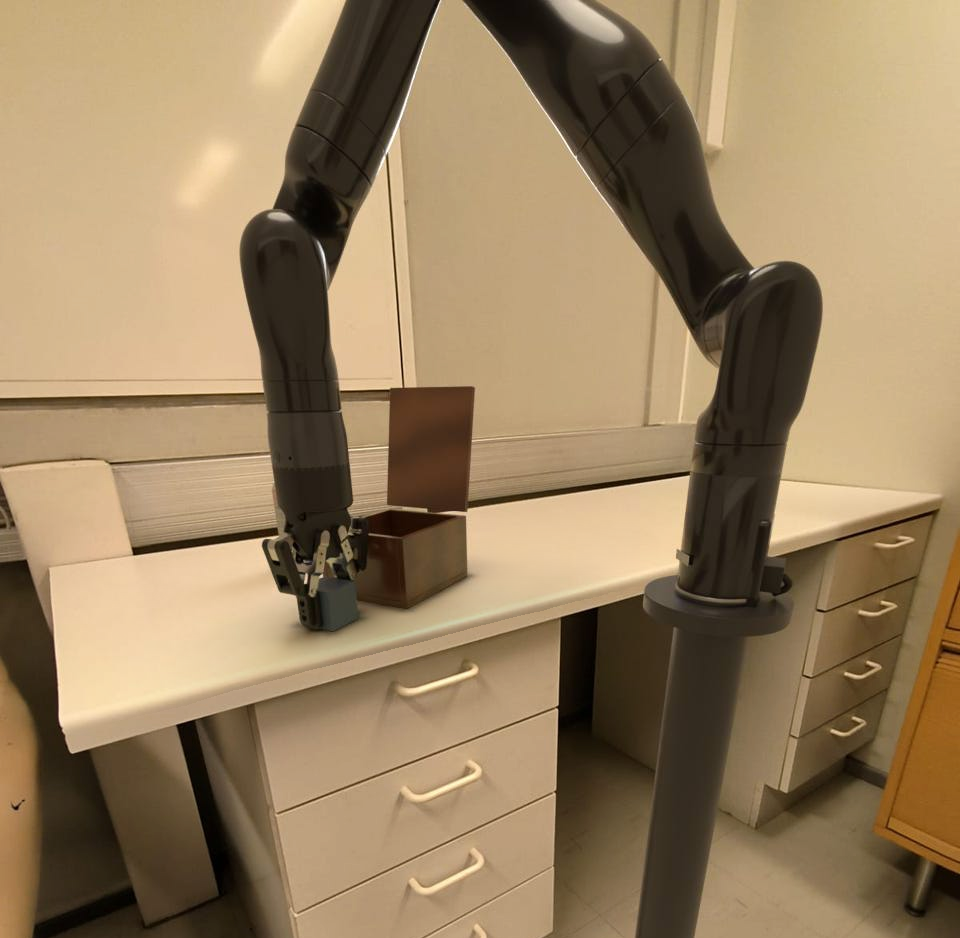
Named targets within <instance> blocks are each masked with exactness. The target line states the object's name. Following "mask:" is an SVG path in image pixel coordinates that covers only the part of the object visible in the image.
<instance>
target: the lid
mask: <svg viewBox="0 0 960 938" xmlns="http://www.w3.org/2000/svg"><path fill="white" fill-rule="evenodd" d="M475 393H476V387H475V386H472V385H465V386H463V385H462V386H460V385H459V386H417V387H416V386H415V387H414V386H412V387H408V386H406V387H390V388H389V409H388V410H389V414H388V445H387V447H388V453H387V483H386V484H387V486H386V506H391V507H392V506H393V507H401V508H402V507H413V508H424V509H427V510H435V511H436V510H437V511H446V512H447V511H448V512H457V513H459V512H460V513H468V509H469V495H470V494H469V491H470V477H471V460H472V459H471V458H472V445H473V444H472V443H473V426H474V412H475V411H474V409H475V395H476V394H475Z"/></svg>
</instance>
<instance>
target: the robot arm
mask: <svg viewBox="0 0 960 938" xmlns="http://www.w3.org/2000/svg"><path fill="white" fill-rule="evenodd" d="M441 1H442V0H345V1H344V4H343V6H342V9H341V11H340V14H339V16H338V20H337V23H336V25H335V28H334V29H333V32H332V34H331V38H330V40H329V42H328V45H327V48H326V50H325V52H324V55H323V57H322V59H321V62H320V64H319V67H318V70H317V72H316V74H315V76H314V79H313V81H312V83H311V86H310V88H309V90H308V93H307V95H306V98H305V100H304V103H303V105H302V106H301V110H300V112H299V115H298V116H297V119H296V122H295V124H294V127H293V129H292V131H291V134H290V137H289V140H288V142H287V146H286V150H285V155H284V174H283V179H282V183H281V186H280V188H279V191H278V193H277V196H276V199H275V201H274V204H273V205H272V208H270V209H265V210H262V211H260V212H258V213H257V214H255V215H254V216H253V217H252V218H250V220H249V221H248V222H247V224H246V225H245V227H244V228H243V230H242V233H241V237H240V241H239V251H238V253H239V254H238V256H239V265H240V266H239V267H240V273H241V279H242V283H243V289H244V294H245V300H246V303H247V307H248V308H247V309H248V312H249V317H250V320H251V324H252V329H253V332H254V336H255V340H256V343H257V347H258V353H259V361H260V376H261V380H262V390H263V395H264V396H263V397H264V401H265V409H266V416H267V417H266V419H267V443H268V449H269V456H270V463H271V468H272V475H273V483H275V490H276V496H277V503H278V507H279V508H280V509H281V510H282V512H283V513H284V515H285V526H284V533H283V534H282V535H280V536H279V535H278V536H277V537H276V538H274V539H272V538H265V539H263V540H262V542H261V548H262V552H263V554H264V556H265V558H266V559H265V560H266V562H267V565H268V567H269V569H270V572H271V574H272V577H273V580H274V583H275V584H276V587H277V590H278V592H279V593H280V594H285V595H291V596H295V598H296V603H297V604H296V605H297V609H298V617H299V622H300V623H301V625H302V624H303V625H302V626H303V627H304V628H306V629H310V630H315V631H316V630H320V629H319V628H321V627H322V625H323V624H322V616H321V608H320V601H319V595H317V592H318V584H319V578H320V576H323V572H324V565H325V561H326V562H328V563H329V564H330V567H331V569H332V572H333V574H334V576H335V577H336V578H337V579H343V580H349V581H354V580H355V579H356V578H357V573H358V572H359V571H360V570H361V571H364V570H365V569H366V566H367V551H368V535H369V520H368V518H363V517H361V516H355V515H353V516H351V514H350V512H349V510H348V508H350V507H352V506H353V504H354V495H353V484H352V474H351V462H350V454H349V453H350V452H349V444H348V443H349V442H348V436H347V430H346V425H345V421H344V417H343V411H342V410H343V409H342V408H343V407H342V399H341V388H340V381H339V380H340V379H339V371H338V366H337V360H336V358H335V354H334V350H333V347H332V336H331V335H332V334H331V322H330V321H331V320H330V308H329V307H330V306H329V290H330V287H331V285H332V283H333V280H334V278H335V275H336V272H337V270H338V267H339V265H340V262H341V260H342V256H343V254H344V251H345V248H346V245H347V243H348V240H349V237H350V234H351V230H352V228H353V224H354V222H355V220H356V218H357V215H358V214H359V212H360V209H361V208H362V206H363V204H364V203H365V201H366V200H367V198H368V195H370V194H369V193H370V191H371V188H373V185H374V183H375V181H376V178H377V176H378V174H379V172H380V169H381V167H382V165H383V163H384V161H385V159H386V156H387V154H388V152H389V150H390V147H391V146H392V143H393V141H394V138H395V136H396V133H397V130H398V127H399V125H400V122H401V119H402V117H403V114H404V111H405V108H406V105H407V101H408V98H409V96H410V92H411V89H412V85H413V83H414V79H415V76H416V73H417V70H418V67H419V63H420V61H421V57H422V54H423V50H424V49H425V46H426V45H425V44H426V42H427V39H428V36H429V34H430V30H431V28H432V24H433V21H434V19H435V17H436V14H437V11H438V9H439V7H440V4H441ZM461 1H462V2H463V4H464V5H465V6H466V7H467V8H468V9H469V11H470V12H471V14H473V15H474V17H475V18H476V19H477V20H478V21H479V22H480V24H481V25H482V26H483V27H484V28H485V30H486V31H487V32H488V33H489V34H490V36H491V37H492V38H493V39H494V40H495V42H496V43H497V44H498V46H499V47H500V48H501V49H502V51H503V52H504V53H505V55H506V56H507V57H508V58H509V60H510V62H511V64H512V65H513V66H514V68H515V69H516V71H517V72H518V74H519V75H520V77H521V78H522V80H523V81H524V83H525V85H526V87H527V88H528V89H529V91H530V92H531V94H532V96H533V97H534V98H535V100H536V101H537V103H538V104H539V106H540V107H541V109H542V110H543V112H544V113H545V114H546V116H547V117H548V119H549V120H550V122H551V123H552V125H553V126H554V127H555V129H556V131H557V132H558V133H559V135H560V137H561V138H562V140H563V142H564V143H565V145H566V146H567V148H568V149H569V151H570V153H571V154H572V156H573V158H575V161H576V162H577V163H578V165H579V166H580V168H581V169H582V171H583V172H584V174H585V175H586V176H587V178H588V180H589V181H590V182H591V184H592V185H593V187H594V188H595V190H596V191H597V192H598V193H599V195H600V196H601V198H602V199H603V200H604V202H605V203H606V204H607V206H608V207H609V208H610V209H611V211H612V213H614V215H615V216H616V217H617V219H618V221H619V222H620V224H621V226H623V229H624V230H625V231H626V233H628V235H629V236H630V239H632V241H633V242H634V244H635V245H636V246H637V247H638V249H639V250H640V252H641V254H643V256H644V257H645V258H646V260H647V261H648V262H649V264H650V265H651V267H652V268H653V269H654V271H655V272H656V273H657V275H658V276H659V278H660V279H661V281H662V283H663V285H664V286H665V288H666V290H667V291H668V294H669V295H670V298H671V299H672V301H673V302H674V304H675V306H676V308H677V310H678V312H679V314H680V316H681V318H682V320H683V323H685V325H686V328H687V330H688V331H689V333H690V335H691V337H692V339H693V341H694V343H695V345H696V347H697V348H698V350H699V351H700V353H701V354H702V356H703V357H704V359H705V360H706V361H707V362H708V363H709V364H710V365H712V366H713V367H714V368H717V369H718V374H717V379H716V384H715V388H714V393H713V395H712V398H711V399H710V402H709V403H708V405H707V406H706V408H705V409H704V410H703V411H702V412H701V413H700V414H699V415H698V417H697V419H696V424H695V431H694V439H693V441H694V442H693V447H692V453H691V454H692V455H691V464H690V472H689V479H688V488H687V495H686V504H685V512H684V518H683V526H682V527H683V528H682V534H681V535H682V536H681V544H680V549H678V548H676V553H675V559H676V560H678V569H677V573H676V575H677V581H676V585H675V593H676V594H677V595H678V596H680V597H681V598H683V599H686V600H688V601H691V602H694V603H698V604H703V605H708V606H716V607H754V608H755V607H757V604H758V601H759V600H760V595H761V592H768V593H771V594H772V595H773V596H774V597H775V596H778V595H781V594H784V593H786V594H787V593H788V592H789V591H790V590H791V589H792V587H793V585H794V583H793V580H792V578H790V576H789V575H788V574H787V573H784V572H785V567H786V562H787V558H786V557H777V556H768V555H769V551H770V545H771V538H772V534H773V533H772V532H773V528H774V523H775V518H776V514H775V512H776V507H777V501H778V496H779V491H780V486H781V481H782V479H781V478H782V473H783V468H784V463H785V457H786V454H787V453H786V452H787V446H788V441H789V436H790V433H791V429H792V426H793V425H794V423H795V421H796V419H797V418H798V416H799V415H800V413H801V410H802V408H803V406H804V402H805V399H806V395H807V391H808V387H809V383H810V379H811V375H812V370H813V366H814V362H815V357H816V354H817V349H818V345H819V340H820V336H821V329H822V324H823V323H822V322H823V316H824V315H823V314H824V301H823V293H822V289H821V288H822V287H821V285H820V282H819V280H818V278H817V277H816V275H815V274H814V272H813V271H812V270H810V268H808V267H807V266H805V265H804V264H802V263H801V262H797V261H793V260H778V261H773V262H770V263H766V264H763V265H760V266H758V267H754V265H753V264H752V263H751V262H750V261H749V260H748V259H747V257H746V255H745V254H744V253H743V252H742V250H741V249H740V247H739V245H737V243H736V242H735V240H734V238H733V237H732V235H731V234H730V233H729V230H728V229H727V227H726V225H725V223H724V222H723V220H722V217H721V215H720V213H719V210H718V208H717V204H716V201H715V198H714V197H715V196H714V193H713V189H712V185H711V181H710V175H709V169H708V165H707V160H706V155H705V150H704V145H703V141H702V137H701V133H700V130H699V126H698V124H697V121H696V118H695V116H694V113H693V111H692V109H691V107H690V105H689V103H688V101H687V99H686V97H685V95H684V93H683V91H682V90H681V89H680V87H679V85H678V83H677V82H676V80H675V78H674V77H673V75H672V73H671V71H670V70H669V68H668V66H667V65H666V62H664V60H663V59H662V56H661V55H660V53H659V52H658V50H657V49H656V47H655V46H654V45H653V43H652V42H651V41H650V40H649V37H648V36H646V35H645V34H644V32H643V31H641V30H640V29H639V28H638V27H637V26H636V25H634V24H633V23H632V22H631V21H629V20H627V18H625V17H624V16H622V15H620V14H619V13H617V12H615V11H614V10H612V9H611V8H609V7H608V6H606V5H605V4H603V3H601V2H600V1H599V0H461ZM292 547H293V550H292ZM354 548H357V550H358V553H357V559H354ZM304 560H305V561H308V562H313V563H312V565H310V566H307V565H305V564H304ZM306 574H307V580H305V578H306ZM305 581H306V583H305ZM782 583H783V584H784V585H782Z"/></svg>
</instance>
